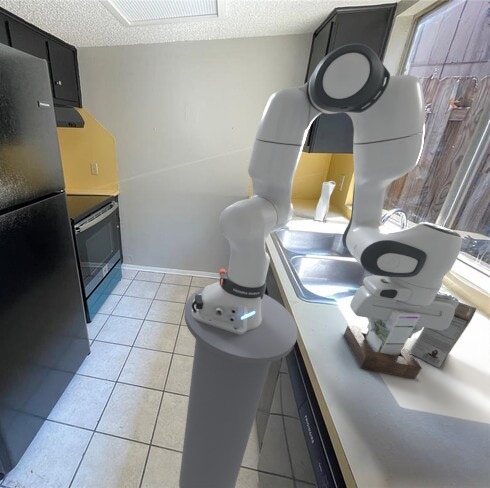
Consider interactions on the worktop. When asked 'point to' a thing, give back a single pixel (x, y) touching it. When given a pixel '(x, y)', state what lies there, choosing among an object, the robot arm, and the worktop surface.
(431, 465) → the worktop surface
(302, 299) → the worktop surface
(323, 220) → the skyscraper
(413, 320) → the syrup box
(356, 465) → the worktop surface
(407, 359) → the socket pad
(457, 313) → the coffee box
